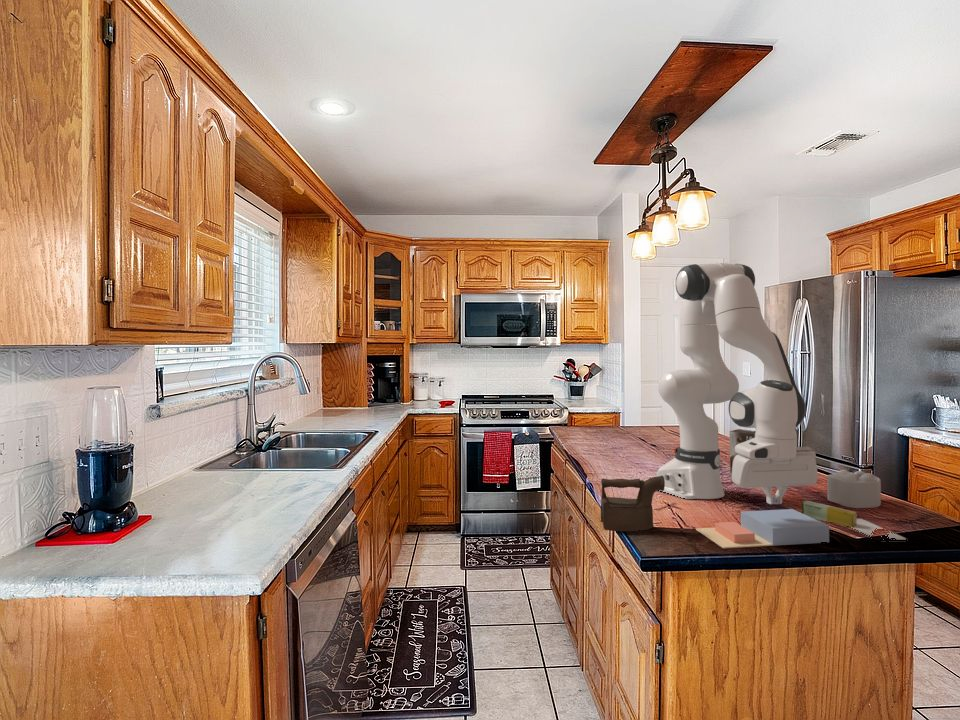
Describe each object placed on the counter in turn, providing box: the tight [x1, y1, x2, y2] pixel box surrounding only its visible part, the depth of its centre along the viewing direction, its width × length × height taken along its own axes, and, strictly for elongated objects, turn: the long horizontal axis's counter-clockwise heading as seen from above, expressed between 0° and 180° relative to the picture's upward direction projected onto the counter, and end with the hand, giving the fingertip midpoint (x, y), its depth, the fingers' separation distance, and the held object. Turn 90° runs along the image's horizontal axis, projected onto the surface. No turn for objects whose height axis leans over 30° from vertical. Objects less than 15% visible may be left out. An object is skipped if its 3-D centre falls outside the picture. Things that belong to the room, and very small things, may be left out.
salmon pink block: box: [714, 521, 755, 543], centre depth 121 cm, size 5×8×2 cm, turn 6°
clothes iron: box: [600, 476, 665, 532], centre depth 129 cm, size 8×16×13 cm, turn 79°
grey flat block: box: [740, 508, 830, 547], centre depth 122 cm, size 14×12×4 cm
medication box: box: [801, 499, 858, 528], centre depth 131 cm, size 12×3×4 cm, turn 32°
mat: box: [695, 526, 773, 549], centre depth 121 cm, size 12×12×1 cm
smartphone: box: [850, 517, 908, 540], centre depth 124 cm, size 7×1×15 cm
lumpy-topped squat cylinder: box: [826, 469, 882, 509], centre depth 146 cm, size 10×13×9 cm
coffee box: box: [729, 428, 756, 475], centre depth 175 cm, size 9×6×16 cm
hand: (774, 503), depth 122 cm, fingers closed
